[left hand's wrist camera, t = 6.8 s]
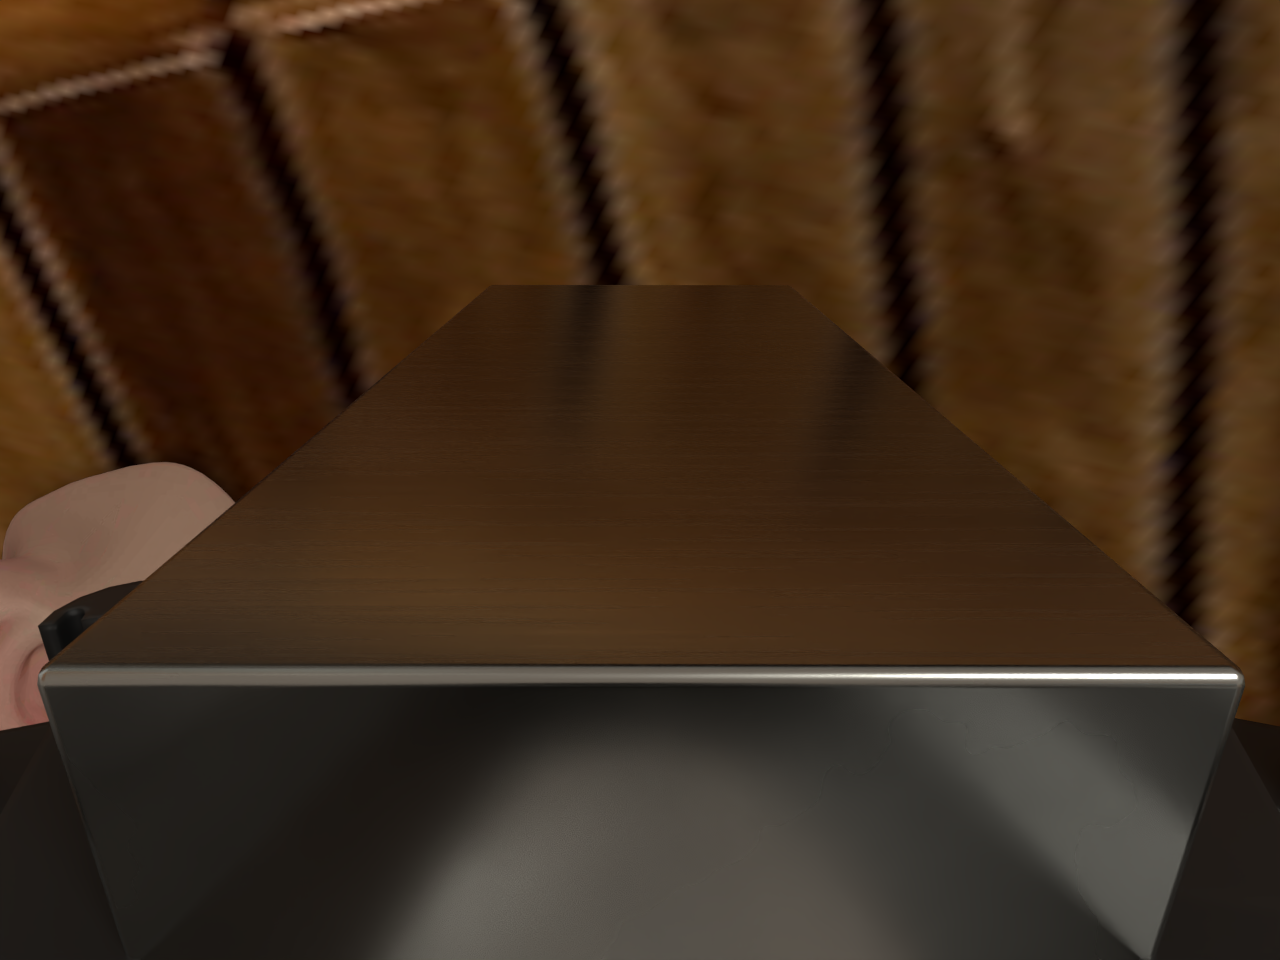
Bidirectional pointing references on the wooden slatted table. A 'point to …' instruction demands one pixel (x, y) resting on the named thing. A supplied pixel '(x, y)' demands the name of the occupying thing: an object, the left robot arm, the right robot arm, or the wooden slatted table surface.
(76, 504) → the anatomical model
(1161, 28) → the wooden slatted table surface
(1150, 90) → the wooden slatted table surface
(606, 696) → the box
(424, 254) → the wooden slatted table surface
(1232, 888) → the left robot arm
